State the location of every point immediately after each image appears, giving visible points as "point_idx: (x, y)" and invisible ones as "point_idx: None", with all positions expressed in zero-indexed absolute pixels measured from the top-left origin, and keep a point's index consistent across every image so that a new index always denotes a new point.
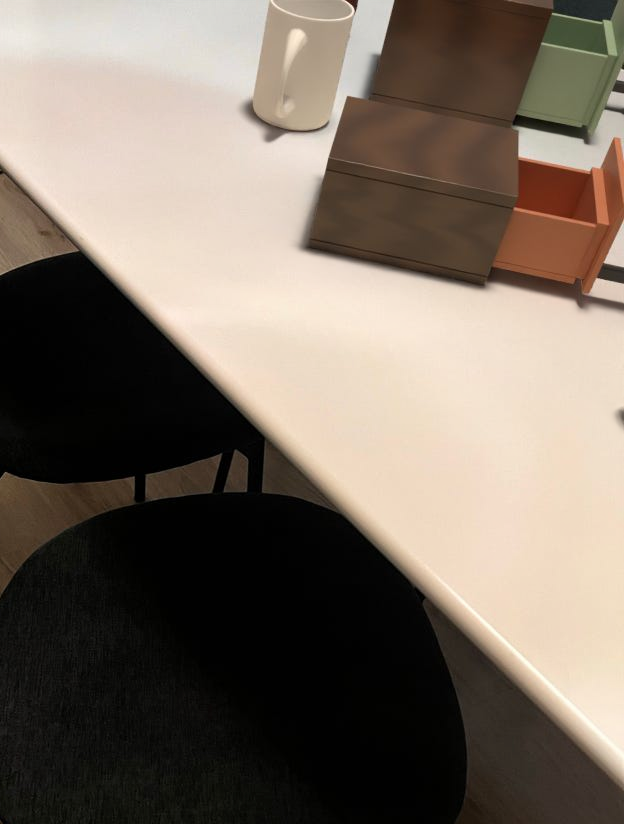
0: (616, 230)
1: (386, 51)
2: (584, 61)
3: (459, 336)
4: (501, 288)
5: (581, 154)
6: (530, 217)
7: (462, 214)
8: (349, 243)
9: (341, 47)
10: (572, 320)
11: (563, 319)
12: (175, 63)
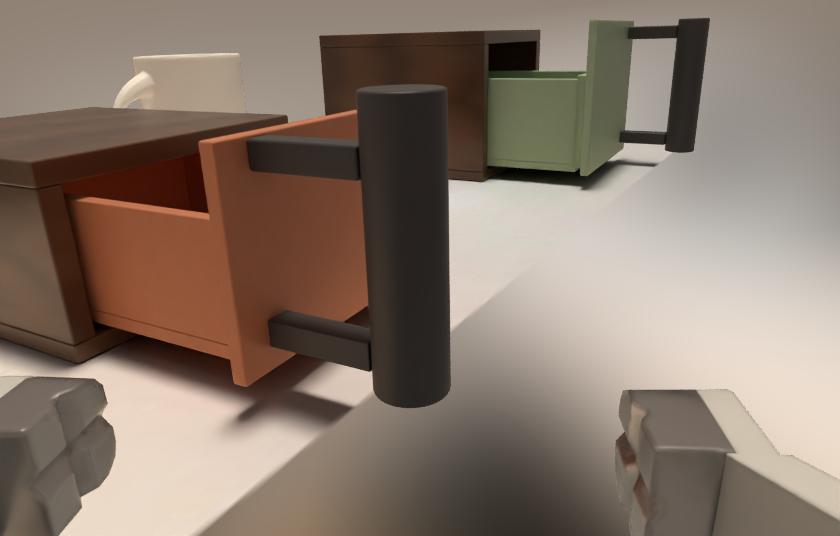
0: (217, 216)
1: (329, 113)
2: (550, 90)
3: None
4: (107, 371)
5: (563, 198)
6: (109, 213)
7: None
8: None
9: (207, 90)
10: (158, 458)
11: (136, 454)
12: None
